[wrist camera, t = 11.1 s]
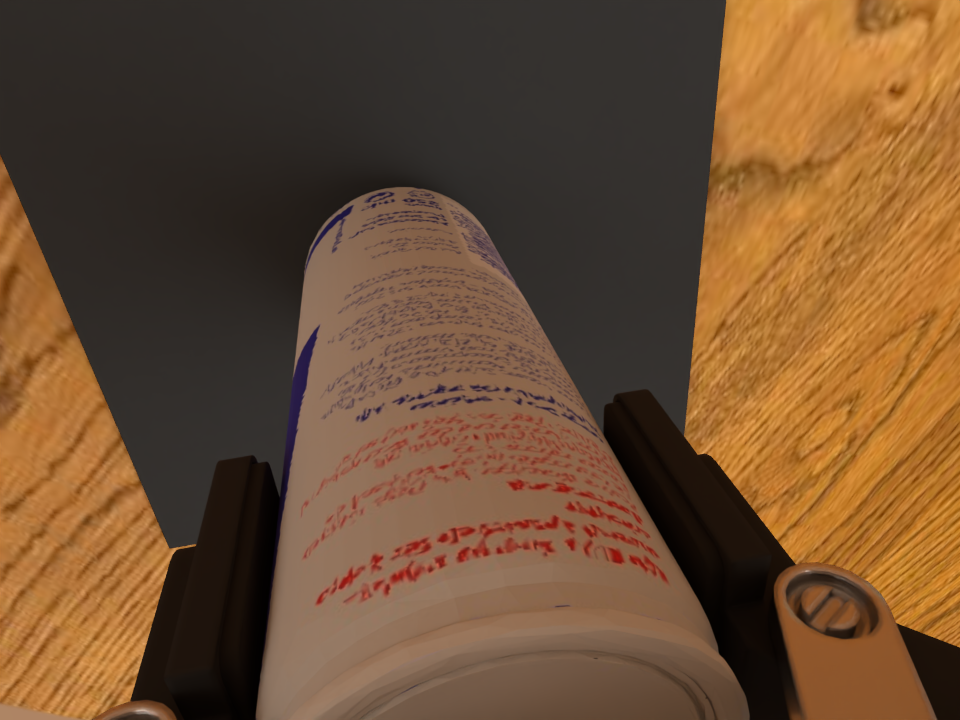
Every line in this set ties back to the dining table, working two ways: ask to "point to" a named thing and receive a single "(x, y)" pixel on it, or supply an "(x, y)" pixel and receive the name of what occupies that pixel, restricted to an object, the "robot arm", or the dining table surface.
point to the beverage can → (460, 505)
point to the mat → (349, 187)
